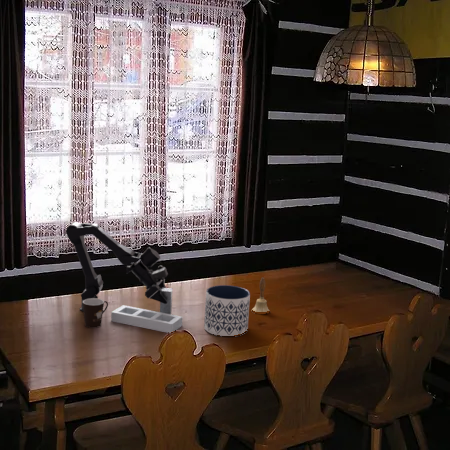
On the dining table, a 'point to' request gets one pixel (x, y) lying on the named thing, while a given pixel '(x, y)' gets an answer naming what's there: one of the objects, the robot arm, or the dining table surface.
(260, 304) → the hand bell
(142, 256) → the robot arm
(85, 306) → the coffee mug
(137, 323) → the white flat frame block
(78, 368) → the dining table surface
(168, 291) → the steel peg
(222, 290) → the planter
